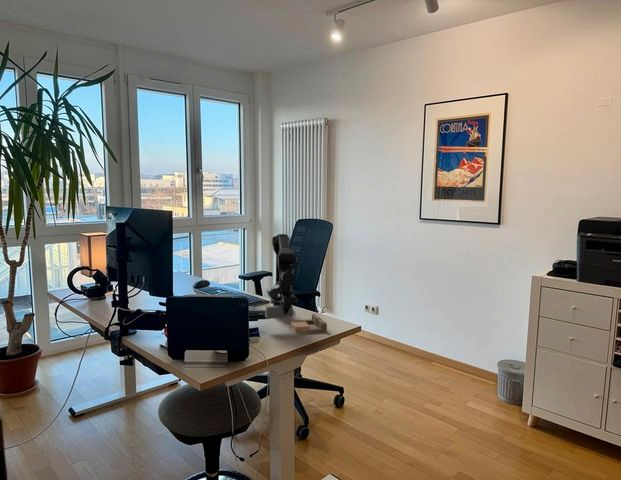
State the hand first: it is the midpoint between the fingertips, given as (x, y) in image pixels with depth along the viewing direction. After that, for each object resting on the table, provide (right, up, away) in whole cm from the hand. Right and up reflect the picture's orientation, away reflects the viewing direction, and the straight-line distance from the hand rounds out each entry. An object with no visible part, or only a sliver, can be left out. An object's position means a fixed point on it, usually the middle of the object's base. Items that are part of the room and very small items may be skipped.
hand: (284, 313), depth 196 cm
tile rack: (+10, -8, +5) cm, 13 cm away
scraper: (-3, -2, -1) cm, 3 cm away
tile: (+7, -8, +4) cm, 11 cm away
